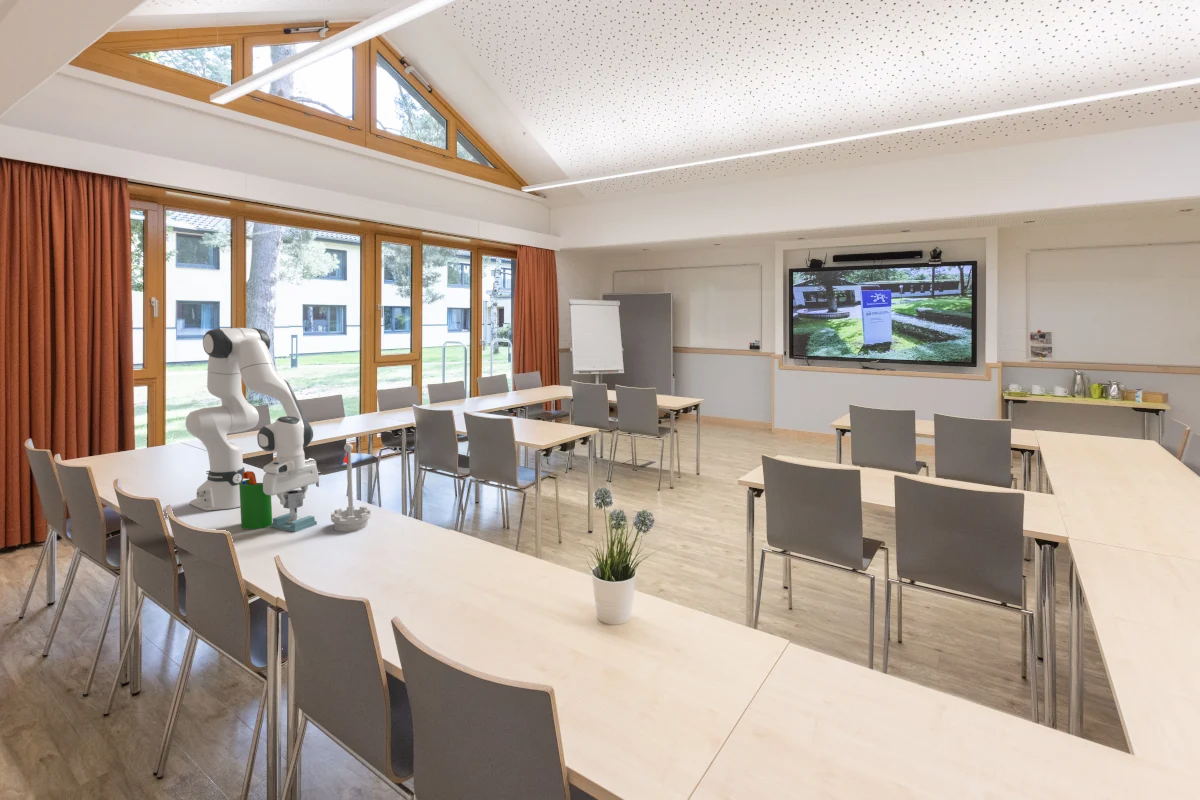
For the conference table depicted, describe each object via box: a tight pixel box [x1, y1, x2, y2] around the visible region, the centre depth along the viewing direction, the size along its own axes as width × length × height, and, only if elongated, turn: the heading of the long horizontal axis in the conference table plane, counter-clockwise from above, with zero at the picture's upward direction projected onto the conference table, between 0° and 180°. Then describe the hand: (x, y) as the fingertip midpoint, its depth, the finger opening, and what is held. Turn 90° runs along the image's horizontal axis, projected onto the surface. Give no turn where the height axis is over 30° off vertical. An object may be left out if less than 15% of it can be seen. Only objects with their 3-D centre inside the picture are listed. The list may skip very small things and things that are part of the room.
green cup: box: [239, 470, 273, 530], centre depth 218 cm, size 10×9×20 cm
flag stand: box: [330, 442, 372, 532], centre depth 218 cm, size 13×13×30 cm
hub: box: [282, 489, 304, 510], centre depth 218 cm, size 6×6×5 cm
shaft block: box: [270, 508, 318, 533], centre depth 219 cm, size 12×9×10 cm
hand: (293, 501), depth 218 cm, fingers closed on hub, 6 cm apart
